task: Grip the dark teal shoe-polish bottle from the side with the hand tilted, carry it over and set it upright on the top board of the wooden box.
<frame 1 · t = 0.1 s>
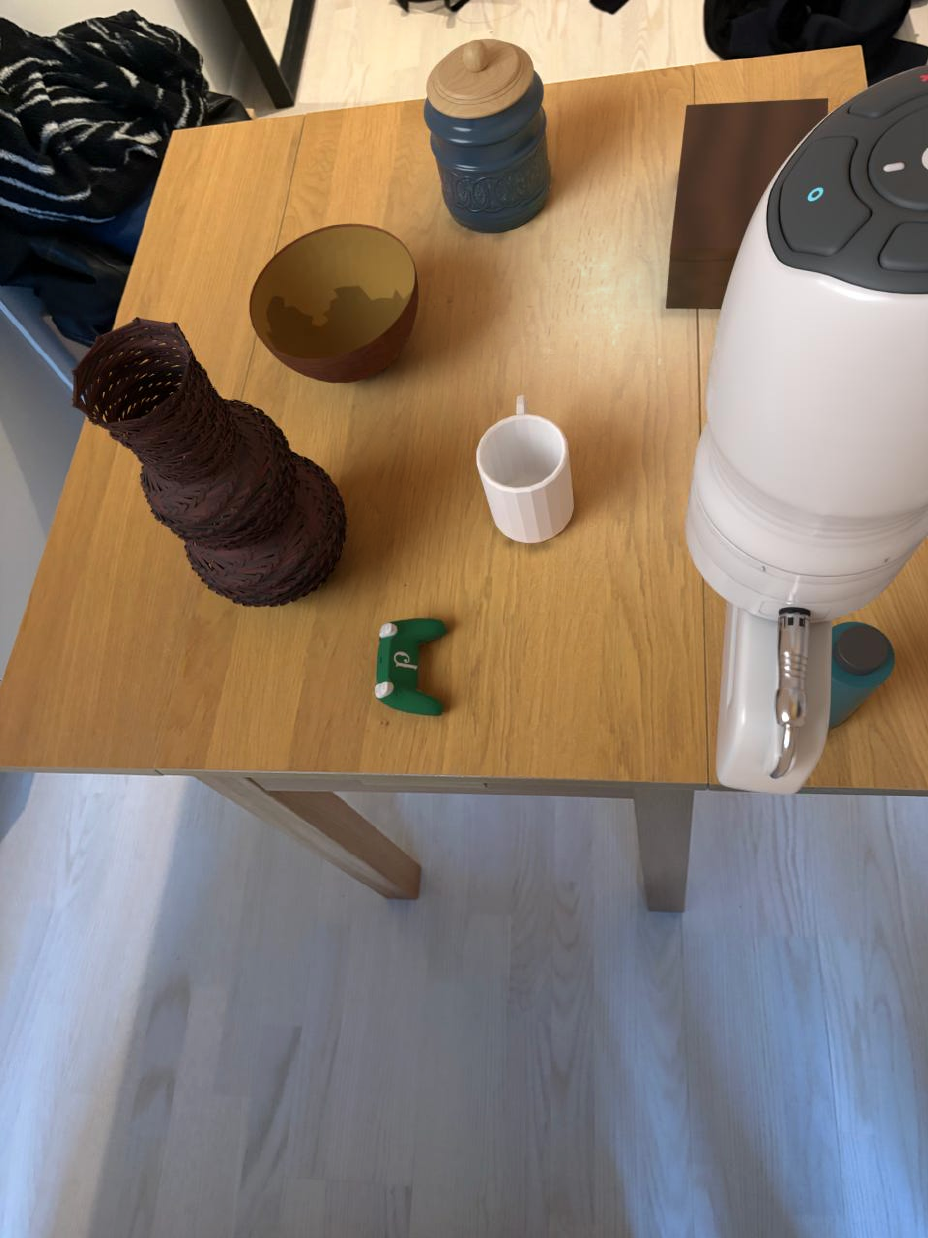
hand: (749, 630, 45), 25 cm above the table, tool pointing down, fingers open, 8 cm apart
gaming controller: (416, 671, 74), on the table
mug: (532, 491, 79), on the table
vase: (295, 562, 81), on the table
bowl: (360, 356, 90), on the table
polish bottle: (817, 701, 66), on the table
wooden box: (739, 236, 86), on the table
canister: (498, 196, 95), on the table
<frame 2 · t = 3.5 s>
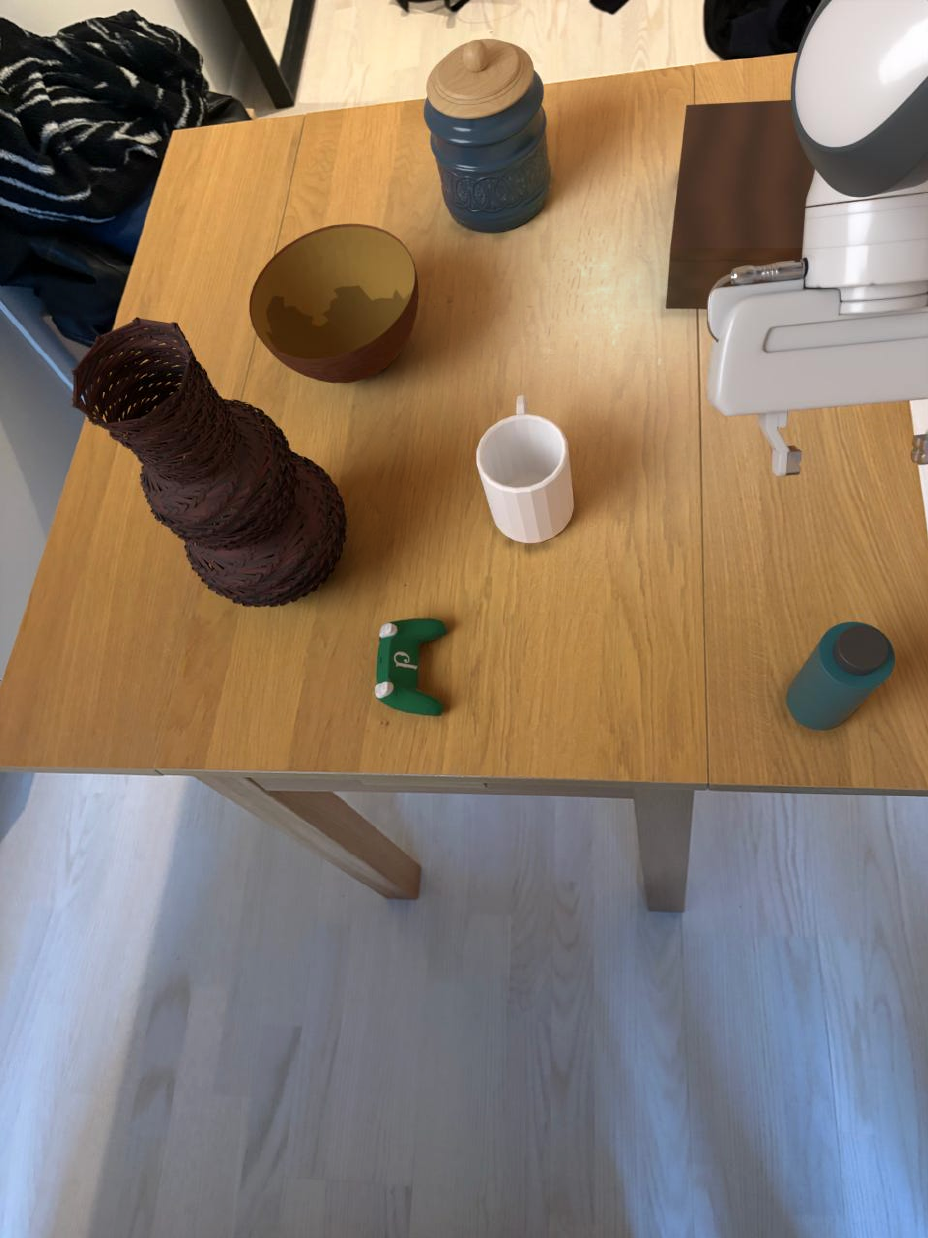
hand: (855, 468, 55), 17 cm above the table, tool tilted 45°, fingers open, 8 cm apart
nothing on the table moved.
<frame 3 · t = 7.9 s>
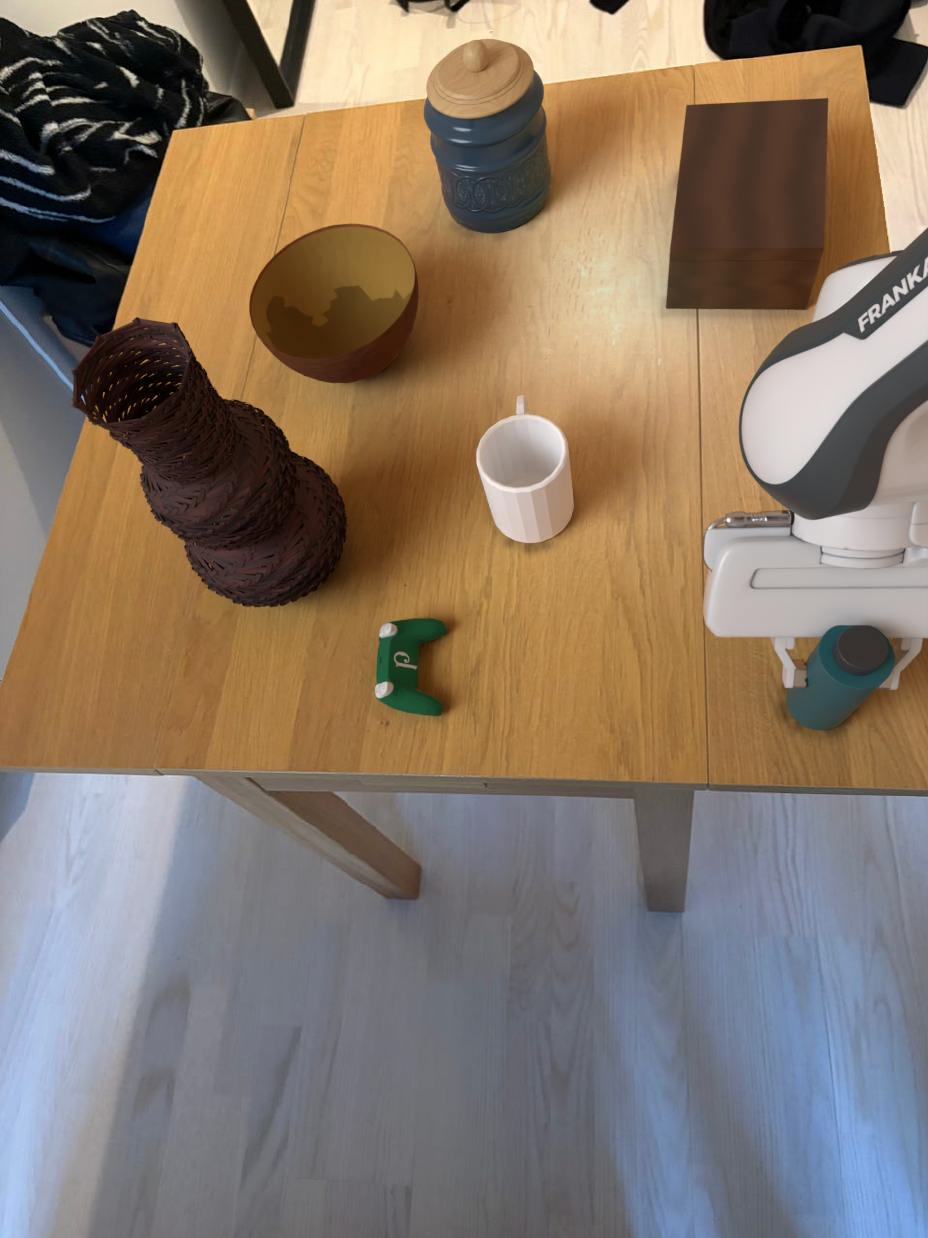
hand: (838, 685, 60), 7 cm above the table, tool tilted 45°, fingers closed on polish bottle, 5 cm apart
polish bottle: (817, 701, 66), on the table, touching gripper
everything else where it was.
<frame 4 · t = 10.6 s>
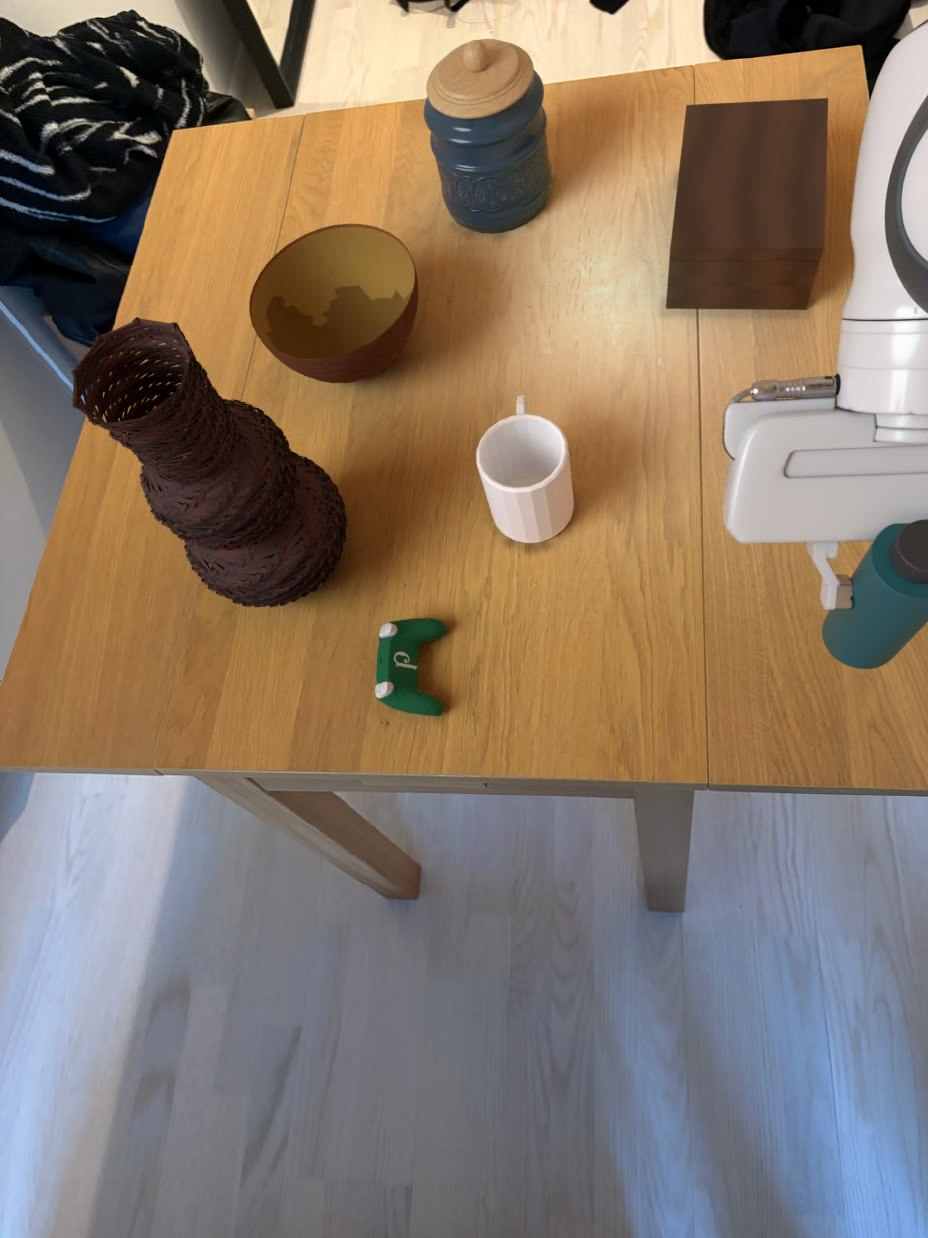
hand: (891, 606, 48), 20 cm above the table, tool tilted 45°, fingers closed on polish bottle, 5 cm apart
polish bottle: (860, 635, 55), point 13 cm above the table, touching gripper
everything else where it was.
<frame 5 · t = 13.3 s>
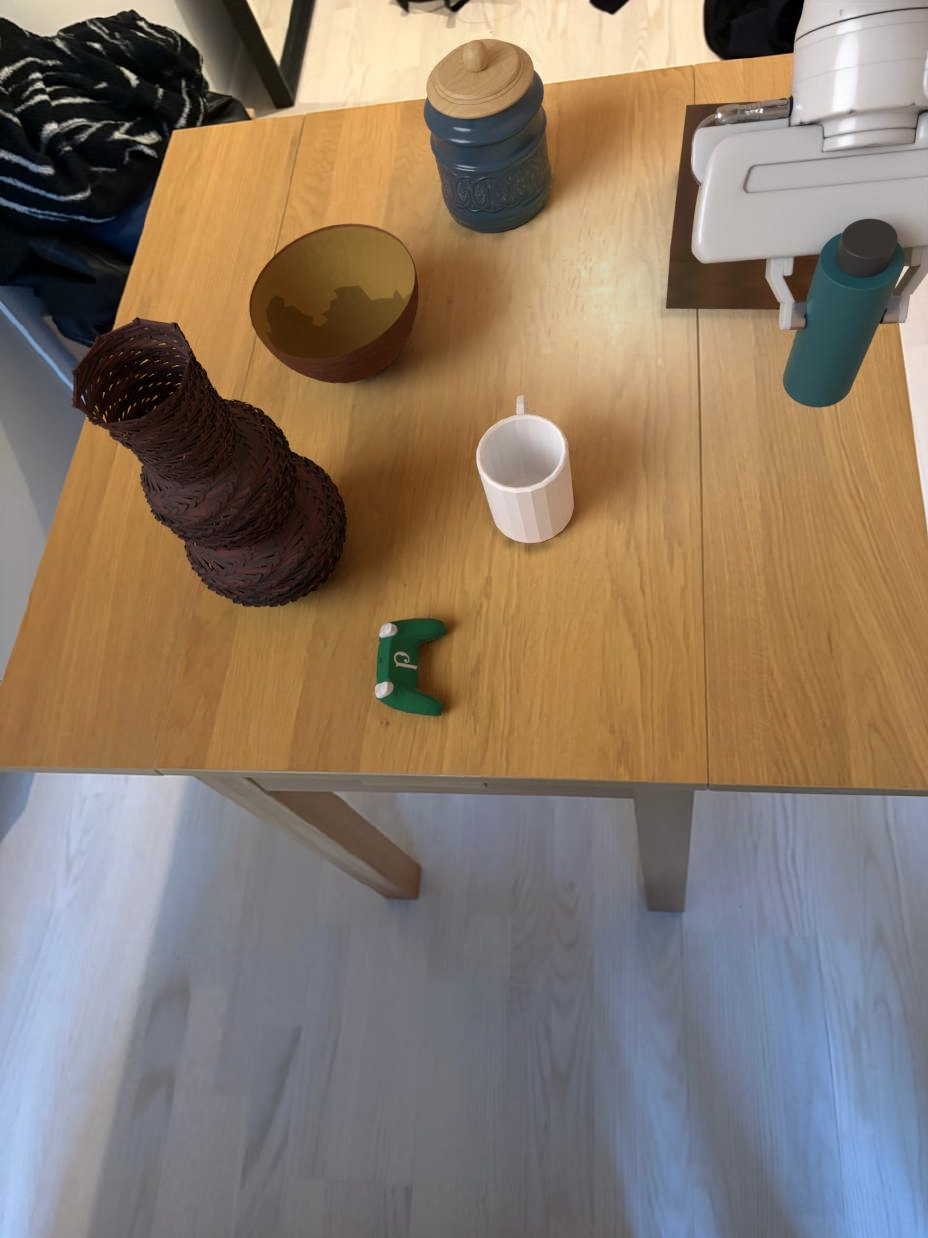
hand: (841, 326, 54), 22 cm above the table, tool tilted 45°, fingers closed on polish bottle, 5 cm apart
polish bottle: (816, 380, 61), point 15 cm above the table, touching gripper
everything else where it was.
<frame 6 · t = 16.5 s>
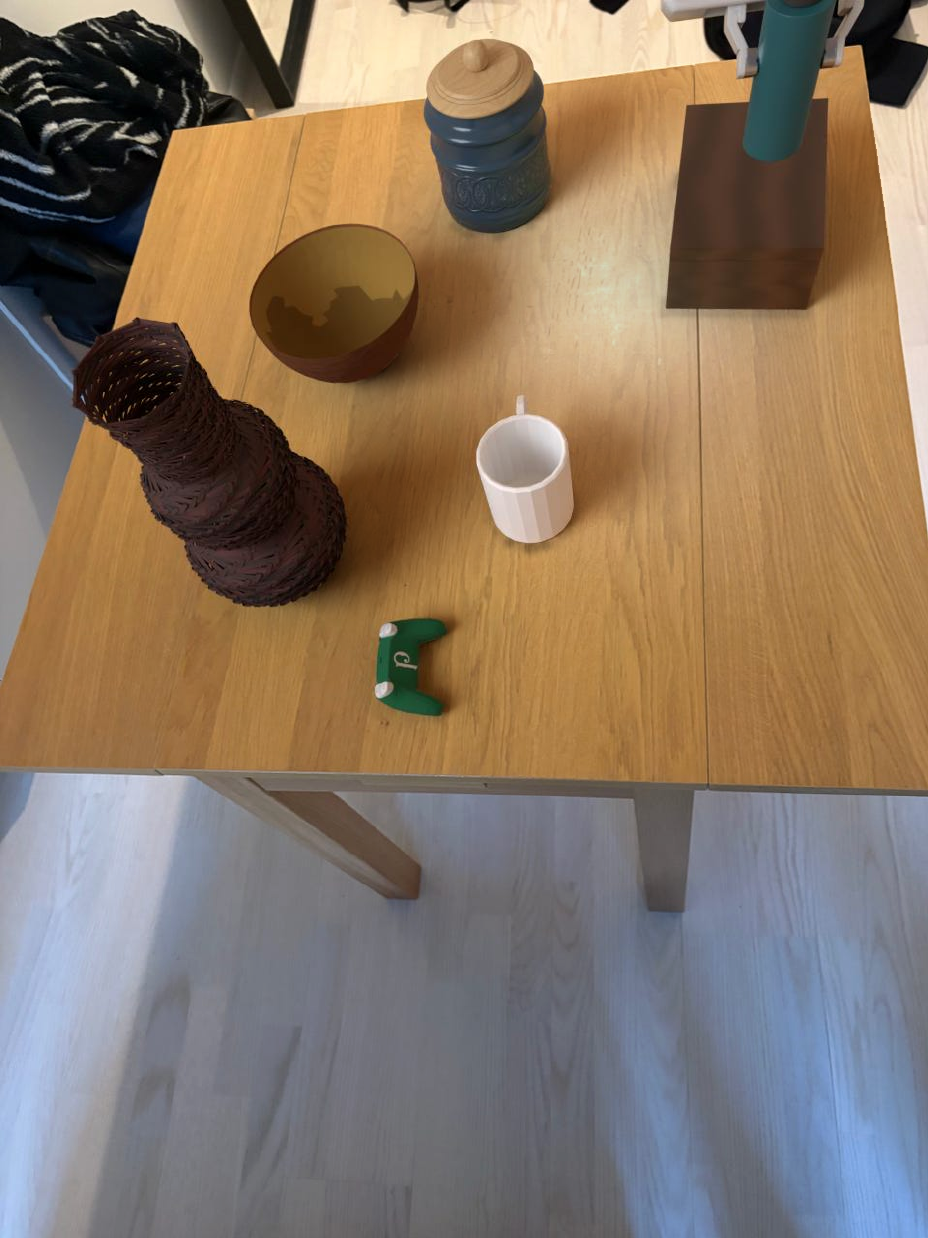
hand: (788, 71, 64), 22 cm above the table, tool tilted 45°, fingers closed on polish bottle, 5 cm apart
polish bottle: (772, 141, 70), point 16 cm above the table, touching gripper
everything else where it was.
when the fingers open (15 cm above the table, at t = 19.2 s): polish bottle stays where it is, resting on wooden box.
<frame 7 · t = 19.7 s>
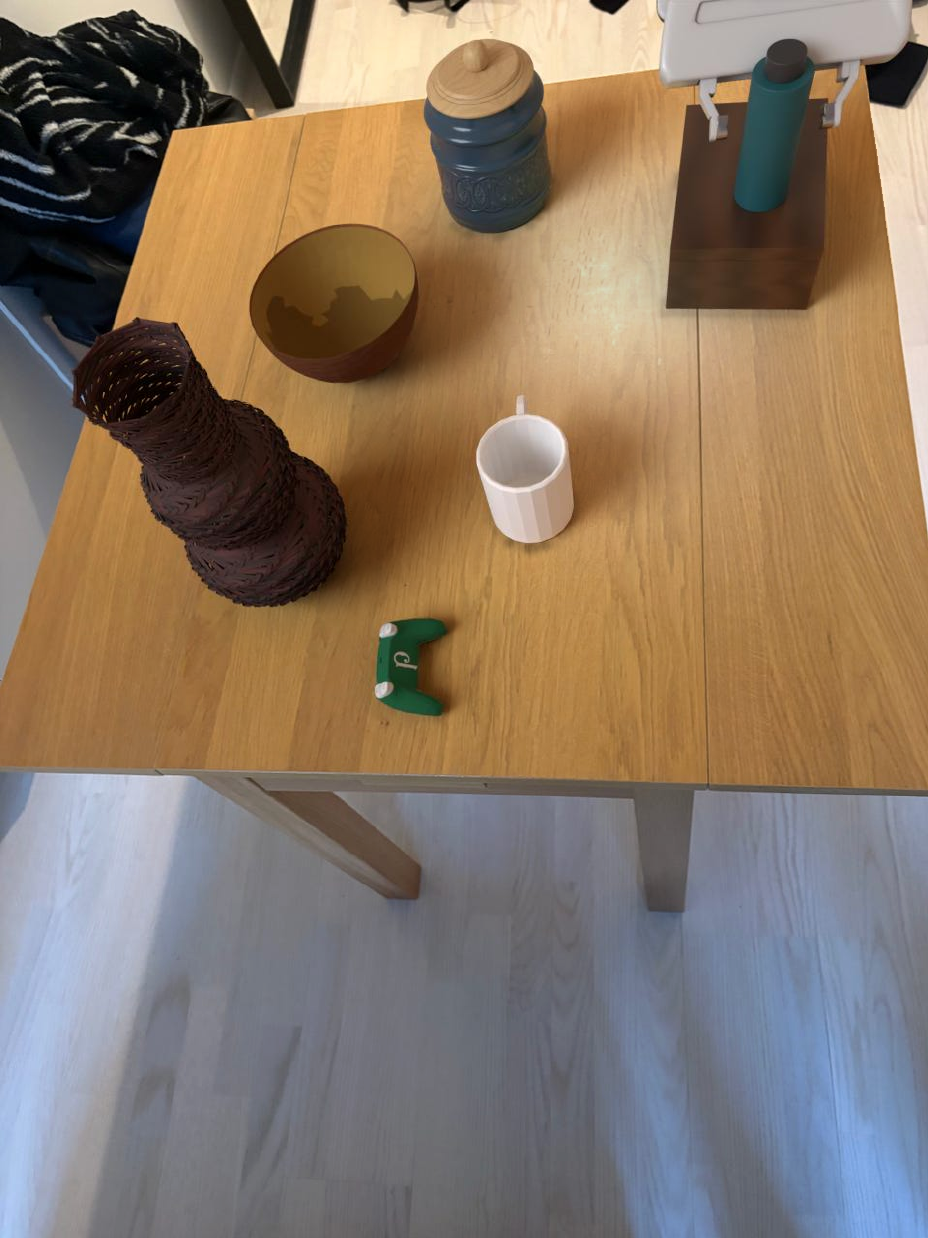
hand: (772, 134, 71), 15 cm above the table, tool tilted 45°, fingers open, 8 cm apart
polish bottle: (760, 193, 78), point 8 cm above the table, touching wooden box
everything else where it was.
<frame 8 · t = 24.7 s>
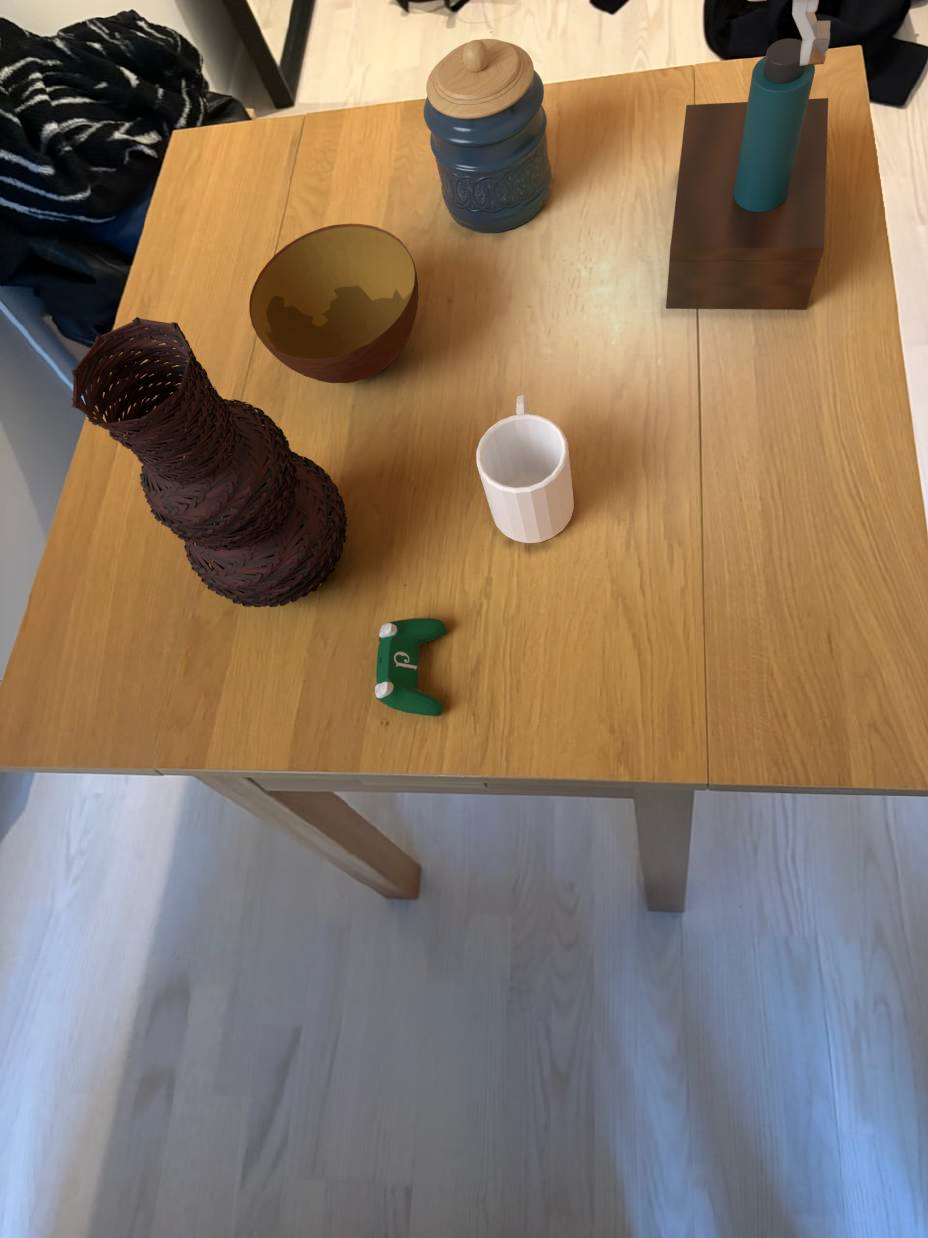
hand: (891, 54, 50), 31 cm above the table, tool pointing down, fingers open, 8 cm apart
nothing on the table moved.
at the end: polish bottle inside the target area on the wooden box (3.2 cm from its centre), point 8.0 cm above the wooden box's base; polish bottle tilted 0°; the gripper is holding nothing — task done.
